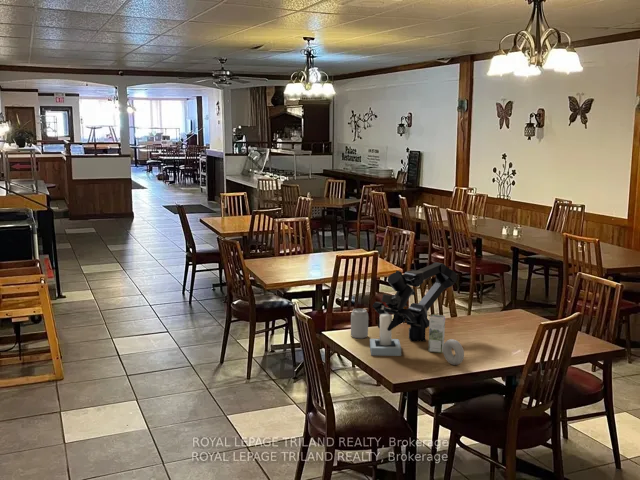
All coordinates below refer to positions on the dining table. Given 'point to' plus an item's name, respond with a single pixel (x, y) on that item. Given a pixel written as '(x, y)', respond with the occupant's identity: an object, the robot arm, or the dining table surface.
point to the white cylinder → (385, 329)
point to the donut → (457, 348)
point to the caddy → (385, 348)
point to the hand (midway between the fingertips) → (383, 328)
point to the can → (359, 323)
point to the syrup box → (436, 333)
